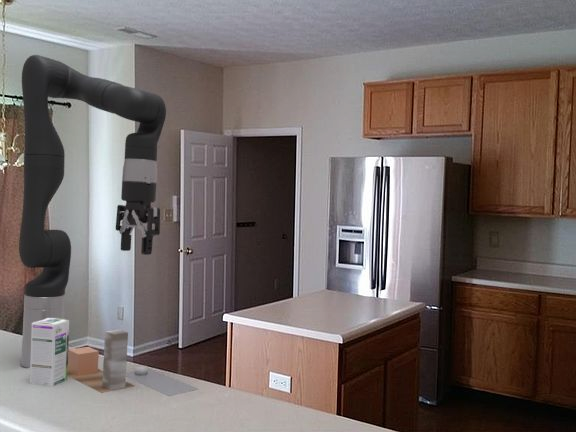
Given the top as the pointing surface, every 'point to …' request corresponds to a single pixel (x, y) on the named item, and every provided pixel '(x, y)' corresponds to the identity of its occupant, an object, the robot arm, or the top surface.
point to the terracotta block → (83, 361)
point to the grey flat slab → (159, 381)
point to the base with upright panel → (110, 365)
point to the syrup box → (49, 351)
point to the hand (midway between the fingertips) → (135, 252)
